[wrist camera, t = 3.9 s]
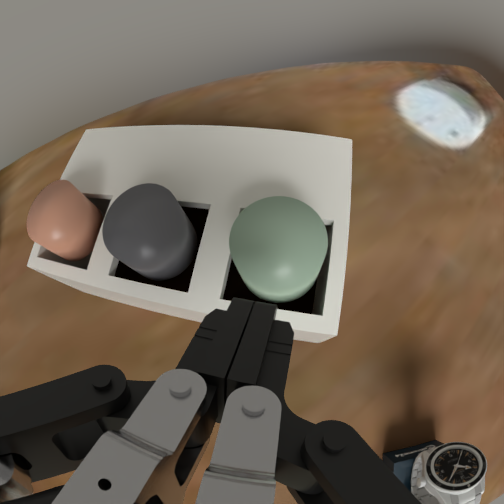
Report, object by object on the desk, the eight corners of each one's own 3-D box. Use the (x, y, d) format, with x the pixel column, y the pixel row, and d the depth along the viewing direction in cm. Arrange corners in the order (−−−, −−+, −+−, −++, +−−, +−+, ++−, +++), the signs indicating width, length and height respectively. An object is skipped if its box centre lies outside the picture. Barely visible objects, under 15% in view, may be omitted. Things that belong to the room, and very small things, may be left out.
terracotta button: (49, 256, 21) (18, 238, 17) (69, 202, 23) (43, 179, 19) (91, 266, 20) (59, 247, 17) (111, 206, 22) (85, 180, 18)
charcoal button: (122, 273, 20) (91, 254, 16) (143, 209, 21) (119, 181, 18) (187, 287, 19) (164, 269, 15) (205, 216, 21) (189, 186, 17)
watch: (436, 421, 21) (507, 442, 10) (429, 491, 18) (485, 533, 8) (382, 434, 21) (438, 472, 11) (377, 505, 18) (418, 563, 8)
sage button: (232, 295, 19) (219, 279, 15) (248, 222, 20) (240, 191, 16) (313, 308, 18) (321, 295, 14) (323, 232, 19) (332, 203, 16)
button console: (83, 291, 28) (26, 266, 20) (123, 177, 33) (86, 129, 24) (318, 343, 25) (337, 335, 16) (336, 198, 29) (352, 139, 21)
